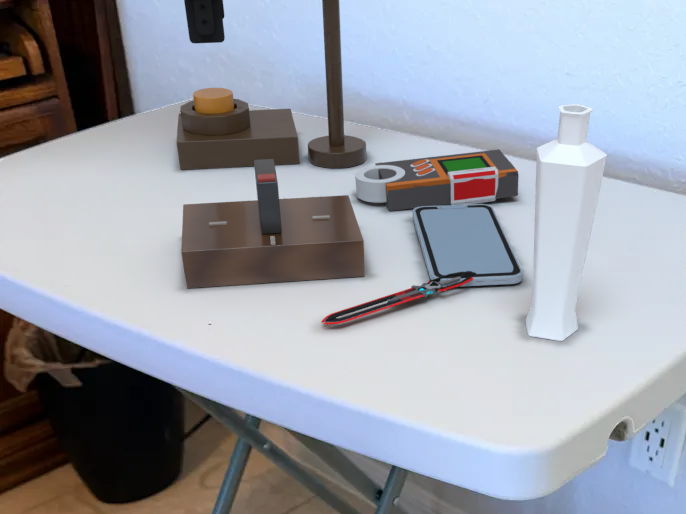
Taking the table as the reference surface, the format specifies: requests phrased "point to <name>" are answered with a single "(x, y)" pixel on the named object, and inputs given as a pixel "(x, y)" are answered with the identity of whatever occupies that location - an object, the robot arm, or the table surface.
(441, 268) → the smartphone
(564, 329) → the white vase
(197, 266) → the panel
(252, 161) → the button base
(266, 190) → the dimmer knob
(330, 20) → the lamp
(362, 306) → the toy sword
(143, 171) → the table surface
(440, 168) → the electronic device
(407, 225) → the table surface
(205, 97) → the power button
